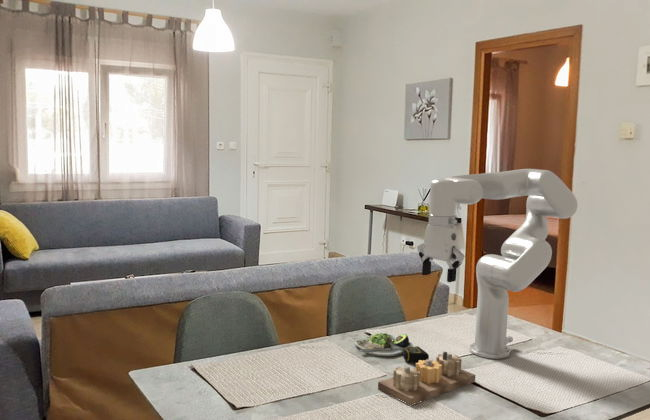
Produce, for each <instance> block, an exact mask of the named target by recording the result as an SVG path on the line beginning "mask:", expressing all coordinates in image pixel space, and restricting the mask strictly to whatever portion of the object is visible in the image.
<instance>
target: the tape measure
mask: <svg viewBox="0 0 650 420" xmlns="http://www.w3.org/2000/svg"><path fill="white" fill-rule="evenodd" d="M402 357H403V359H404V360H405V361H406V362H409V363H412V364H416V363H418V361H419V360H422V361H423V360H430V359H429V358H430V356H429V353H427V352H426V351H425V350H424V349H422V348H421V347H420V346H413V347H406V348H405V349H404V351H403V354H402Z"/></svg>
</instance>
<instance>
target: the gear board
mask: <svg viewBox="0 0 650 420" xmlns="http://www.w3.org/2000/svg"><path fill="white" fill-rule="evenodd" d="M435 357H436V359H435V361H437V362H439V364H441V365H442V371H441V380H439V382H438V383H435V382H434V383H431V384H429V383H427V382H423V381H422V382H420V372H417V369H416V367H413V368H412V367H410V366H407V365H405V366H404V367H403V366H402V367H400V366H397V367H395V369H393V375H392V376H393V377H390V378H387V379H384V380H380V381H378V382H377V390H379V391H381V392H382V393H384V394H387V395H388V394H389V396H390V395H391V396H390V397H392V396H393V397H392V398H394V397H395V398H394V399H396V398H398V399H400V400H402V401H404V402H406V403H407V404H406V403H405V404H406V405H408V404H409V405H408V406H410V405H412V404H414V403H417V404H419V403H418V402H420V401H422V402H425V401H427V399H428V400H430V399H432V398H436V397H438V396H440V395H443V394H446V393H449V392H451V391H455V390H457V389H459V388H463V387H466V386H467V385H471V384H473V383H475V382H476V374H474V373H472V372H470V371H467V370H465V369H463V368H462V361H463V360H462V358H461V357H459V355H458V354H452V353H448V352H447V351H442V353H439V354H438V356H435ZM432 361H433V360H431V359H428V360H426V366H430V367H431V366H432ZM474 381H475V382H474ZM398 399H397V400H398ZM400 400H399V401H400ZM424 400H425V401H424ZM402 401H401V402H402ZM404 402H403V403H404ZM420 403H421V402H420ZM414 405H415V404H414ZM412 406H413V405H412Z"/></svg>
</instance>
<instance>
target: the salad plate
mask: <svg viewBox="0 0 650 420" xmlns="http://www.w3.org/2000/svg"><path fill="white" fill-rule="evenodd" d="M392 340H393V341H392ZM368 343H369V347H366V344H368ZM354 345H355V346H356V347H357V348H358V349H359V351H360V353H364V354H369V355H371V356H372V355H373V356H378V357H394V356H399V355H403V351H404V349H405V348H406V347H414V345H413V343H412V342H410V338H409V337H408V334H405V333H403V334H400V335H397V336H396V335H394V334H391V333H386V332H383V333H382V332H380V333H378V332H377V333H375V334H371V335H368V336H363V337H359V338H357V339H355V341H354Z"/></svg>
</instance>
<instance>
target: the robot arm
mask: <svg viewBox="0 0 650 420" xmlns="http://www.w3.org/2000/svg"><path fill="white" fill-rule="evenodd" d="M429 186H430V189H429V207H428V208H429V209H428V210H429V211H428V224H427V225H426V229H425V233H424V241H423V243H421V244H419V245H417V246H416V249H417V252H418V256H419V258H420V261H421V263H422V270H421V275H422V276H428V275H431V273H432V261H431V259H434V260H438V261H440V262H441V261H442V262H446V264H447V266H448V268H447V273H446V282H447V283H452V282H456V280H457V269H459V267H460V266H461V265H462V264H463V261H464V259H465V257H466V256H465V254H464V253H462V252H461V251H460V250H459V233H458V228H457V227H456V226H455V225H457V223H458V220H457V219H456V206H457V204H459V205H460V204H463V205H467V206H468V205H474V204H477V203H478V202H480V201H481V200H482V199H483V200H484V199H486V200H505V199H510V198H512V199H513V198H518V197H524V196H525V197H526V196H528V197H527V199H526V205H525V206H526V210H525V211H526V213H525V214H526V215H525V219H524V221H523V223H522V224H521V225H520V226H519V227H518V228H517V229H516V230H515V231H514V232H513V233H512V234H511V235H510V236H509V237H508V238H507V239H506V240H504V242H503V244H502V245H501V247H500V254H501V255H500V254H499V255H498V254H494V253H493V254H492V253H491V254H485V255H483V256H481V258H480V257H479V259H478V261H477V263H476V267H475V273H476V283H477V302H476V318H475V331H474V332H475V334H474V336H475V337H474V342H472V343H471V344H470V345H469V351H470V352H471V353H472V354H474V355H475V356H478V357H481V358H486V359H495V360H498V359H505V358H508V357H510V355H511V349H510V348H509V347H508V346H507V345H508V344H509V343H513V341H514V338H513V336H511V335H509V336H507V330H508V315H509V314H508V313H509V305H510V304H509V301H510V299H509V292H515V293H517V292H521V291H523V290H525V289H526V288H527V287H528V286H530V284H531V283H533V281H535V279H536V278H538V276H540V275H541V273H542V272H543V271H544V270H545V269H546V268H547V267H548V265H549V264H550V262H551V260H552V254H553V250H552V246H551V244H550V243H549V242H548V241H546V239H547V237H548V235H549V226H548V217H551V218H555V219H562V220H563V219H570V218H572V217H573V216H574V215H575V214H576V212H577V211H578V201H577V200H578V199H577V198H576V195H575V194H574V193H573V192H572V190H571V189H570V188H569V187H568V186H567V185H566V183H564V181H563V180H562V179H561V178H560V177H559V176H558V175H556V174H555V173H554V172H553V171H551V170H548V169H540V168H522V169H520V168H519V169H512V170H506V171H496V172H483V173H473V174H461V175H454V176H449V177H448V176H447V177H446V178H437V179H433V180H432V181H431V182H430V185H429ZM508 291H509V292H508Z"/></svg>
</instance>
